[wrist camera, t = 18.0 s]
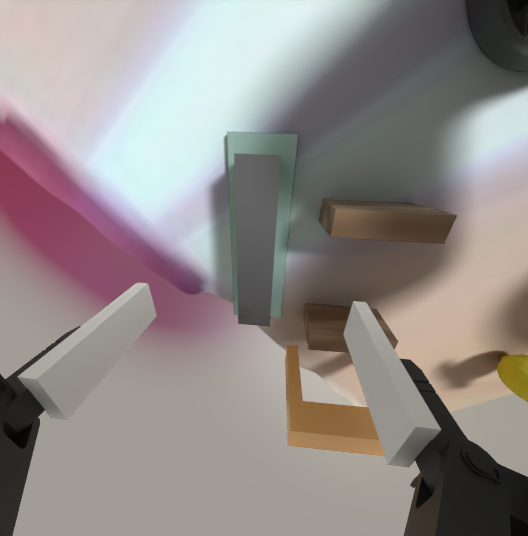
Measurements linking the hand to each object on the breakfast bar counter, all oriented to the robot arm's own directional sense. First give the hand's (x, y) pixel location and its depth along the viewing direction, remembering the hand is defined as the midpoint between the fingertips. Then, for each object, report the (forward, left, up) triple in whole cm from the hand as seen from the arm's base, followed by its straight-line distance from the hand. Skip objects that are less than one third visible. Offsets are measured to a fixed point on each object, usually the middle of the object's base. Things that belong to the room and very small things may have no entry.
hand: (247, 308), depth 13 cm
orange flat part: (+17, +12, -11) cm, 23 cm away
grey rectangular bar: (0, 0, -13) cm, 13 cm away
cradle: (+3, +12, -14) cm, 18 cm away
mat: (0, 0, -14) cm, 14 cm away
